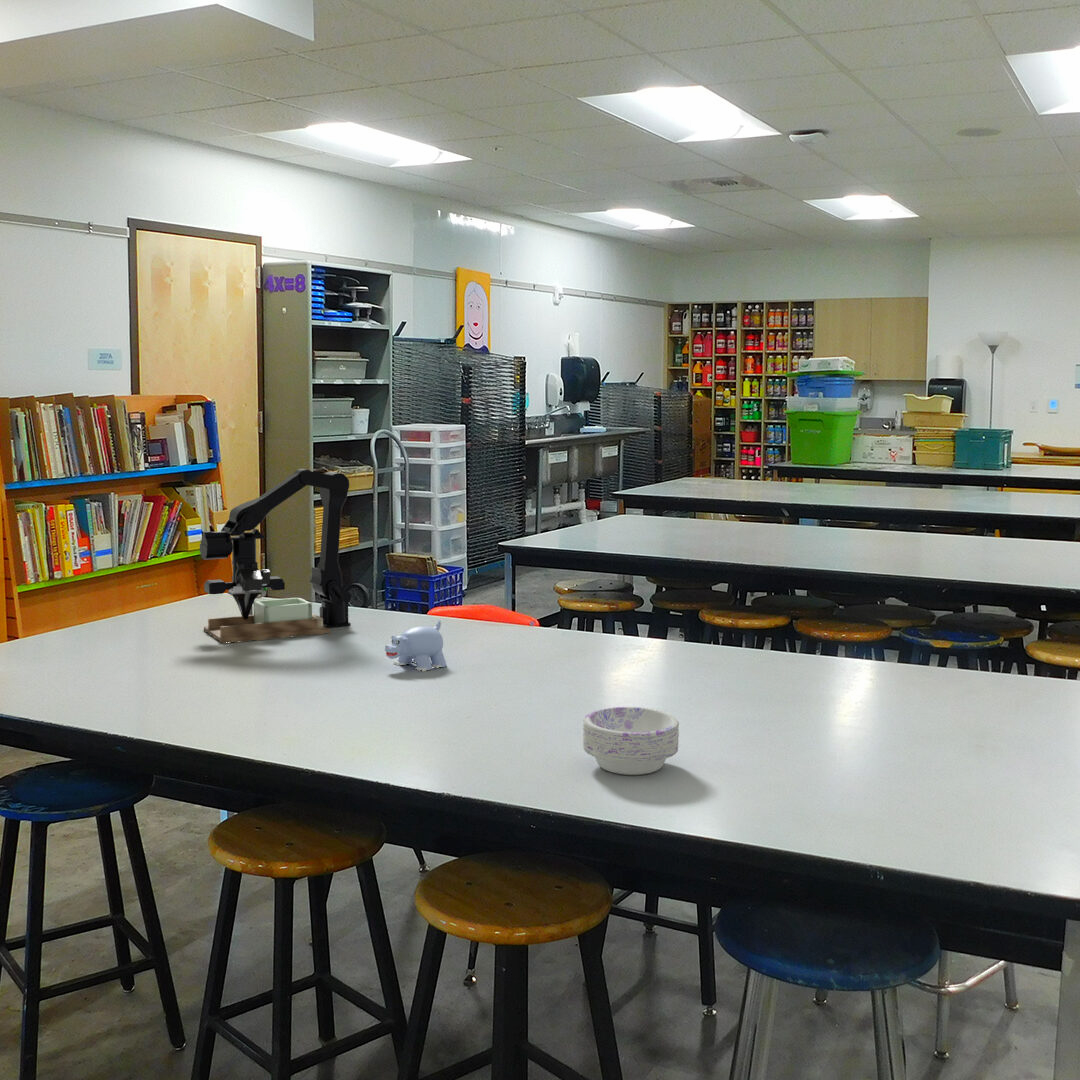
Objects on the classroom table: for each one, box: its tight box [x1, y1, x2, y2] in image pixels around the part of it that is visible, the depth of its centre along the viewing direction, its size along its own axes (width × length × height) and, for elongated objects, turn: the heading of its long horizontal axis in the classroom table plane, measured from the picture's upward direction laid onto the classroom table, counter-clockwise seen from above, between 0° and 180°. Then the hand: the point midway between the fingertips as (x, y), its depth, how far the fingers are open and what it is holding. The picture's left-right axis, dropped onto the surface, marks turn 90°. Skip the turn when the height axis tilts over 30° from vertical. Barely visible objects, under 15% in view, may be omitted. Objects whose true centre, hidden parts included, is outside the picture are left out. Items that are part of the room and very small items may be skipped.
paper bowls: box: [582, 706, 680, 776], centre depth 183 cm, size 15×15×8 cm
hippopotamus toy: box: [384, 619, 448, 672], centre depth 252 cm, size 11×15×10 cm
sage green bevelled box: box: [253, 597, 313, 624], centre depth 291 cm, size 12×10×6 cm
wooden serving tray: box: [203, 612, 331, 644], centre depth 289 cm, size 27×18×4 cm, turn 120°
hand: (245, 619), depth 286 cm, fingers closed
